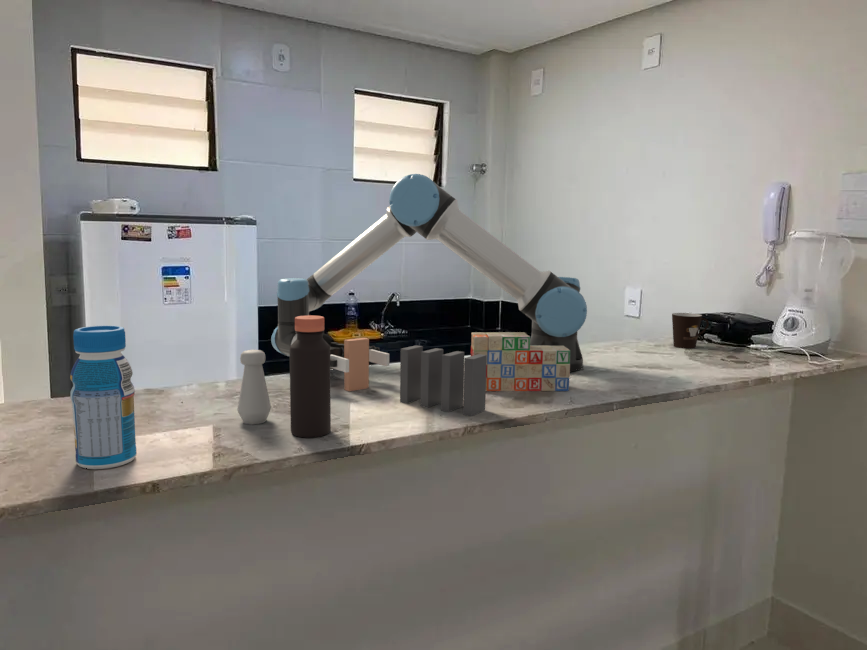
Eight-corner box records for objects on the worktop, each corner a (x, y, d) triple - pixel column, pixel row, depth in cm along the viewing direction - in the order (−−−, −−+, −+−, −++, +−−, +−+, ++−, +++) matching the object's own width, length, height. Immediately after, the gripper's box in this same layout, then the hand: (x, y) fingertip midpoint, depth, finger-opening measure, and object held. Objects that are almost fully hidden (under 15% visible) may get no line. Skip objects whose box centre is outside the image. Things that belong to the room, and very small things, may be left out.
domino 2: (420, 406, 133) (421, 351, 131) (435, 400, 137) (436, 348, 135) (427, 407, 132) (428, 352, 130) (442, 402, 136) (443, 349, 134)
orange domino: (344, 389, 145) (344, 339, 143) (364, 386, 148) (364, 337, 146) (348, 391, 143) (348, 341, 142) (368, 388, 147) (368, 338, 145)
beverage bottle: (88, 475, 94) (80, 335, 91) (65, 461, 99) (56, 328, 96) (147, 460, 100) (141, 328, 97) (123, 447, 105) (116, 322, 102)
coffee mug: (672, 348, 202) (674, 315, 200) (667, 343, 210) (669, 312, 209) (713, 350, 200) (715, 317, 198) (706, 345, 208) (708, 313, 207)
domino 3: (441, 410, 130) (442, 354, 128) (455, 404, 134) (456, 351, 132) (448, 411, 129) (450, 356, 127) (463, 406, 133) (464, 352, 131)
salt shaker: (260, 414, 125) (259, 346, 123) (277, 421, 121) (275, 351, 119) (231, 420, 121) (229, 350, 119) (247, 428, 117) (246, 355, 115)
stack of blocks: (562, 385, 153) (565, 332, 151) (569, 392, 147) (571, 336, 145) (469, 384, 152) (471, 331, 150) (472, 391, 146) (473, 335, 144)
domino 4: (463, 414, 127) (464, 358, 125) (477, 408, 131) (478, 354, 130) (471, 416, 126) (472, 359, 124) (485, 410, 130) (486, 355, 129)
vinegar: (296, 426, 118) (294, 314, 115) (334, 427, 118) (333, 315, 115) (286, 438, 111) (284, 319, 109) (326, 439, 111) (325, 320, 108)
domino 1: (400, 402, 135) (400, 348, 134) (415, 396, 140) (415, 345, 138) (407, 403, 134) (407, 349, 133) (422, 398, 139) (422, 346, 137)
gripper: (353, 357, 166) (409, 373, 149) (271, 368, 152) (322, 387, 135) (353, 327, 165) (409, 340, 148) (270, 336, 150) (322, 351, 134)
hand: (368, 362), depth 141 cm, fingers open, 10 cm apart
